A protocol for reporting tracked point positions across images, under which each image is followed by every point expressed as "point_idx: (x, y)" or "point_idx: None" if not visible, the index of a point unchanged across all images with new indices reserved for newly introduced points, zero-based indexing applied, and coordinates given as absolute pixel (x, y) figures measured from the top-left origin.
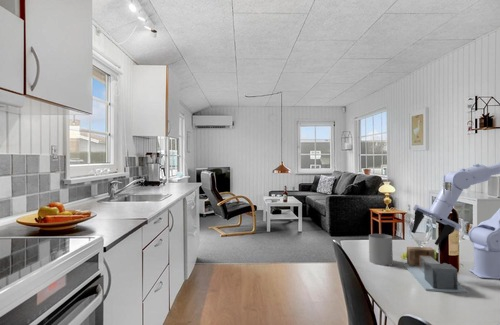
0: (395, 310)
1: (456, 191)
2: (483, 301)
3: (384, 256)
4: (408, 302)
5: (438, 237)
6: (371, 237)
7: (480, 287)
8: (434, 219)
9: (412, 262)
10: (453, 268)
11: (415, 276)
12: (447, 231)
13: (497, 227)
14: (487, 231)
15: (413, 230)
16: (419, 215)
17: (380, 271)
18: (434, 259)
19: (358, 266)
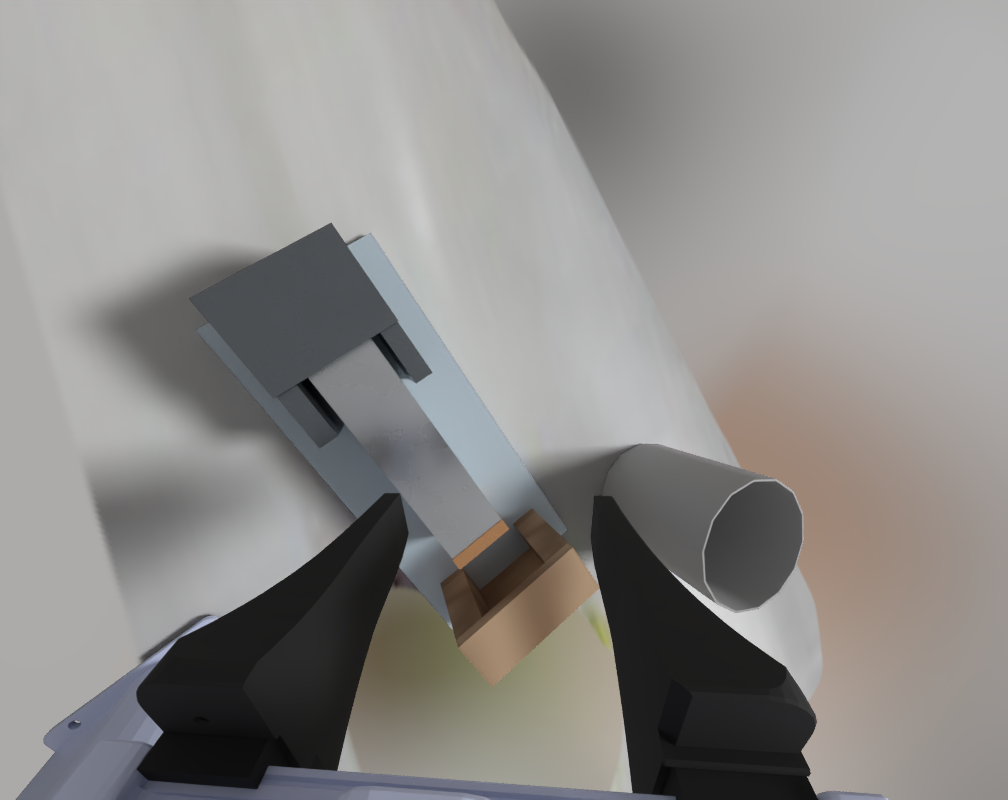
0: None
1: None
2: (90, 258)
3: (644, 469)
4: (380, 31)
5: (368, 532)
6: (779, 482)
7: (169, 468)
8: (470, 790)
9: (529, 523)
10: (219, 306)
11: (464, 376)
12: (247, 608)
13: None
14: None
15: (605, 504)
16: (685, 656)
17: (602, 362)
18: (416, 512)
19: (684, 362)
